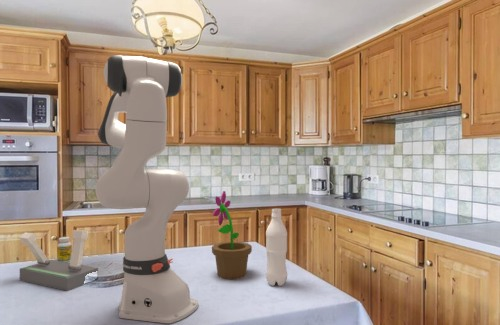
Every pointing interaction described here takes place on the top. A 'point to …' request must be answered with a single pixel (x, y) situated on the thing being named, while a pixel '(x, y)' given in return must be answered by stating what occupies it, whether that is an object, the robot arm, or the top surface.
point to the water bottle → (276, 250)
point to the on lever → (34, 247)
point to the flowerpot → (229, 247)
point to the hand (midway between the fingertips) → (107, 198)
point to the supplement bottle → (64, 249)
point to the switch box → (55, 275)
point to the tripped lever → (77, 249)
